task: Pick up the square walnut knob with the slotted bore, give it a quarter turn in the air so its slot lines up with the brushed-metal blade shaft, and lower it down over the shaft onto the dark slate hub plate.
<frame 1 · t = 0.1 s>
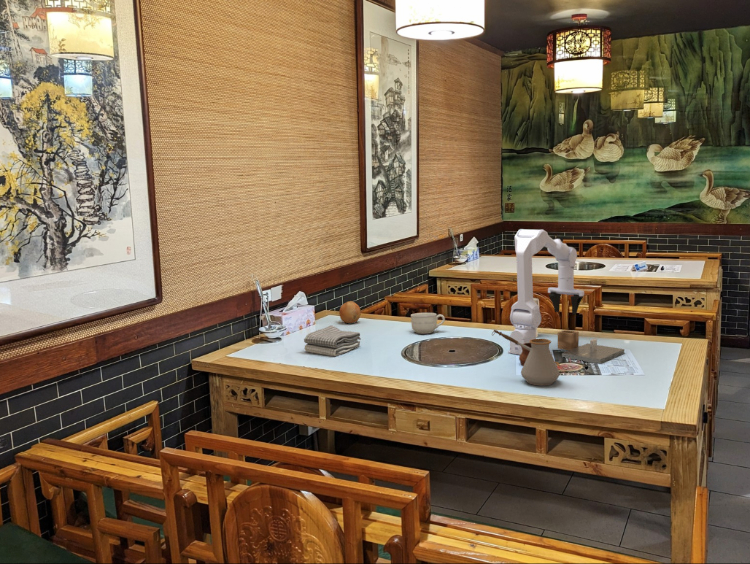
hand: (565, 312, 260), 10 cm above the table, fingers open, 7 cm apart
teacup: (427, 333, 279), on the table
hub: (593, 355, 234), on the table
onion: (350, 323, 304), on the table
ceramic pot: (532, 366, 225), on the table
beer glass: (530, 337, 266), on the table
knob: (568, 348, 245), on the table
coffee pot: (524, 380, 208), on the table
towel: (333, 351, 255), on the table
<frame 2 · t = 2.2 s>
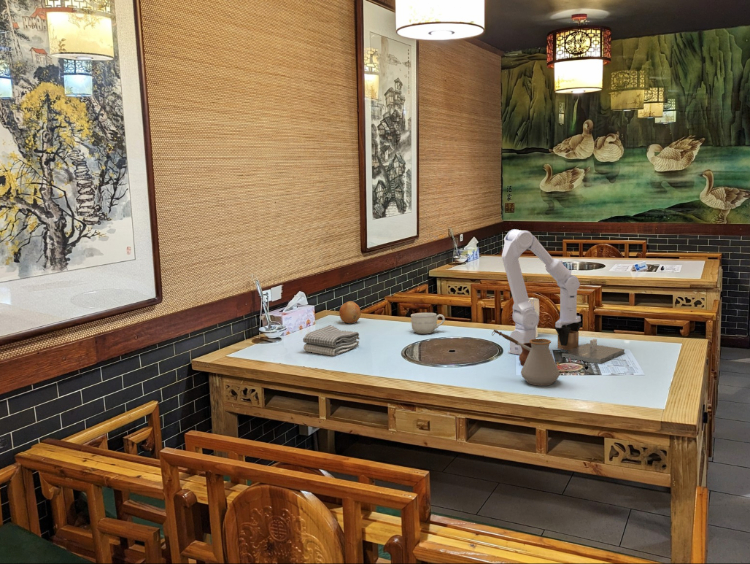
hand: (568, 343, 245), 2 cm above the table, fingers closed on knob, 5 cm apart
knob: (568, 348, 245), on the table, touching gripper
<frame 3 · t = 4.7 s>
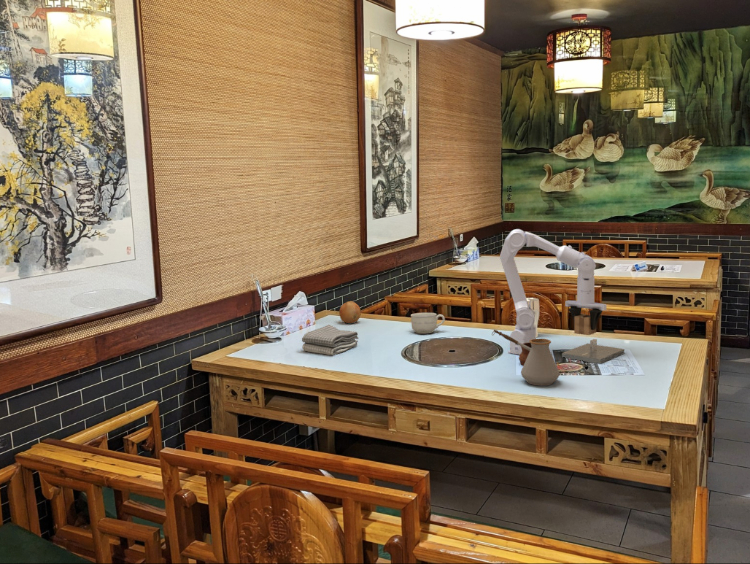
hand: (585, 328, 236), 9 cm above the table, fingers closed on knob, 5 cm apart
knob: (585, 332, 236), point 7 cm above the table, touching gripper
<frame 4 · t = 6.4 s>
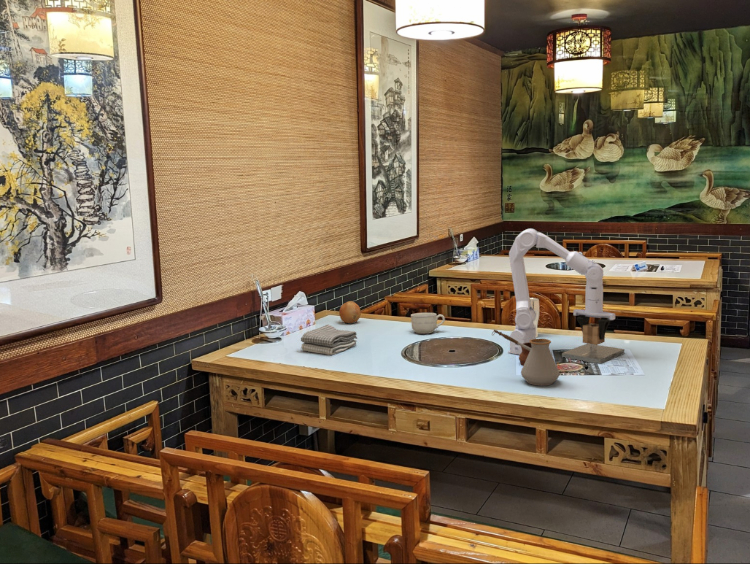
hand: (593, 337, 233), 6 cm above the table, fingers closed on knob, 5 cm apart
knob: (593, 342, 234), point 5 cm above the table, touching gripper
when the fingers open (4 cm above the table, at t = 7.4 s): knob stays where it is, resting on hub.
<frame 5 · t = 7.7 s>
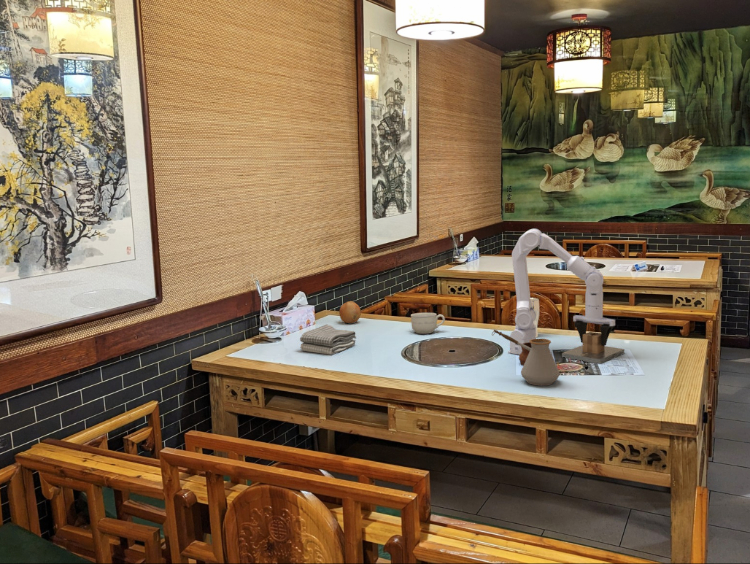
hand: (593, 343, 234), 4 cm above the table, fingers open, 7 cm apart
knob: (593, 351, 234), point 1 cm above the table, touching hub
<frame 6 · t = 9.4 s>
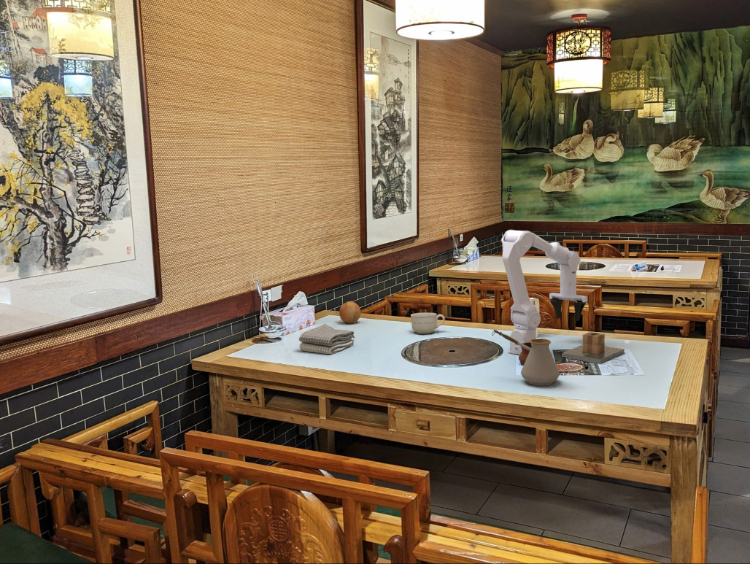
hand: (568, 319, 250), 9 cm above the table, fingers open, 7 cm apart
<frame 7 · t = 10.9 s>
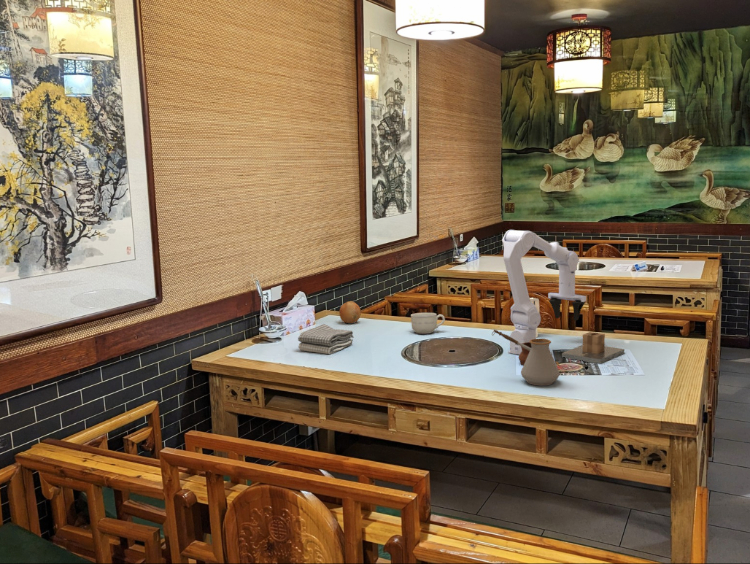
hand: (566, 318, 251), 9 cm above the table, fingers open, 7 cm apart
at the end: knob 0.0 cm off-centre on the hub, point 1.5 cm above the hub's base; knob tilted 0°; the gripper is holding nothing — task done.
